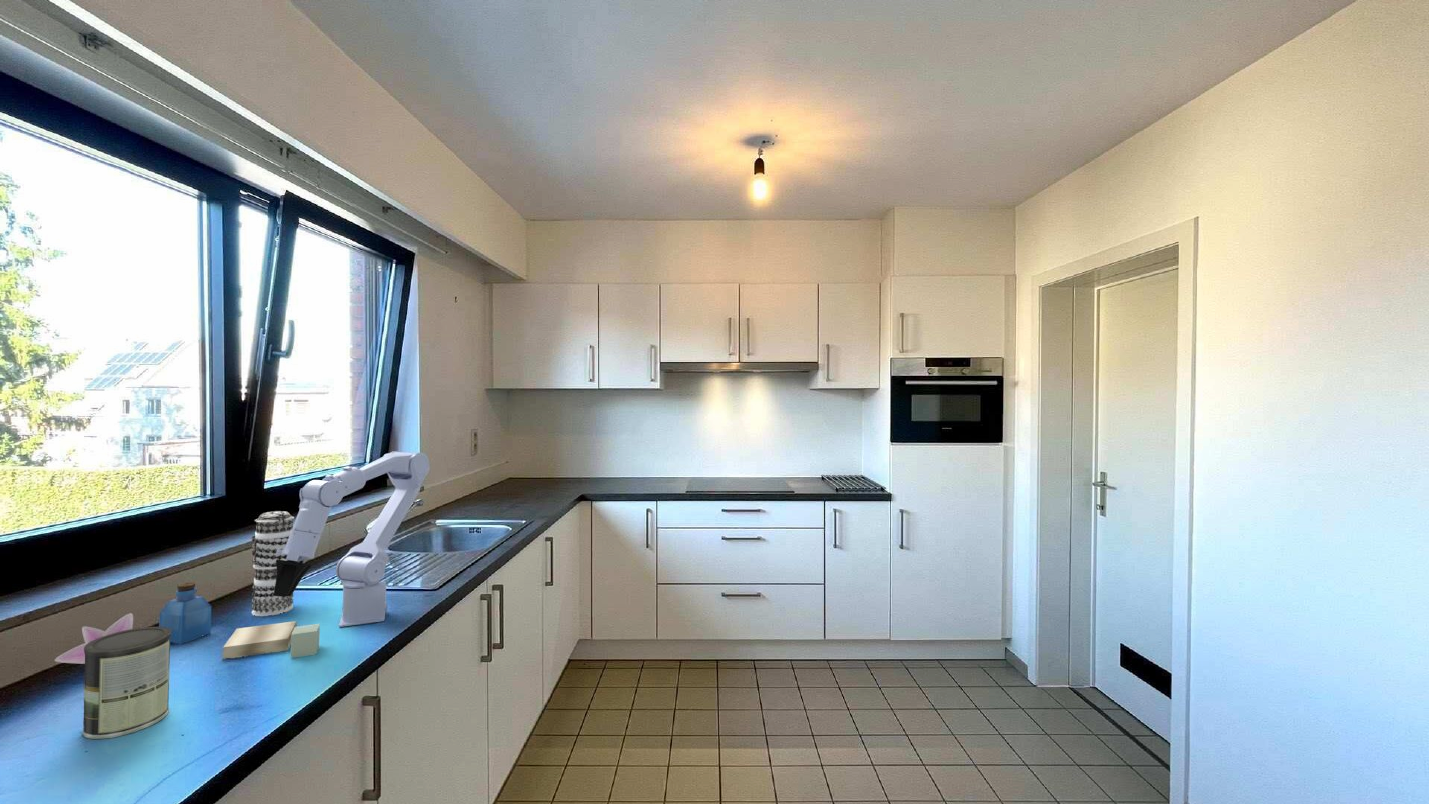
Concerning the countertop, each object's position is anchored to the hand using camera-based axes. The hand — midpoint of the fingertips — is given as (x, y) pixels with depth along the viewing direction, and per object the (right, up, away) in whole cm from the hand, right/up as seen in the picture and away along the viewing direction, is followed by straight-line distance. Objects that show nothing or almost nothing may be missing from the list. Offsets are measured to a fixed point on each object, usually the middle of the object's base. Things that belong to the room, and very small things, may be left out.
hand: (282, 596), depth 124 cm
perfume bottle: (-27, -12, +6) cm, 30 cm away
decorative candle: (-20, -12, +24) cm, 33 cm away
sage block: (+5, -12, 0) cm, 13 cm away
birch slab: (-7, -12, +3) cm, 15 cm away
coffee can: (-5, -12, -28) cm, 31 cm away
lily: (-27, -12, -11) cm, 31 cm away
